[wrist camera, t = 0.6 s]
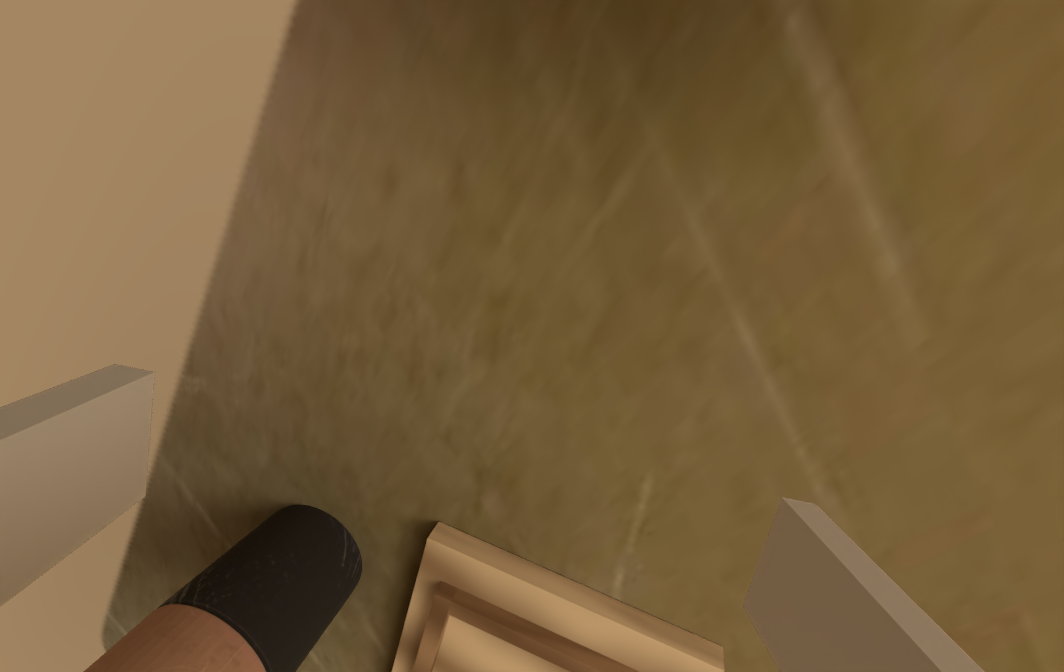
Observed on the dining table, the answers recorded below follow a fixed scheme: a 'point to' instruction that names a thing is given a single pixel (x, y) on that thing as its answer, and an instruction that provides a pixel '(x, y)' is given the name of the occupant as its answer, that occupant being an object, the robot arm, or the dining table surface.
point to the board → (529, 620)
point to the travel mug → (250, 603)
